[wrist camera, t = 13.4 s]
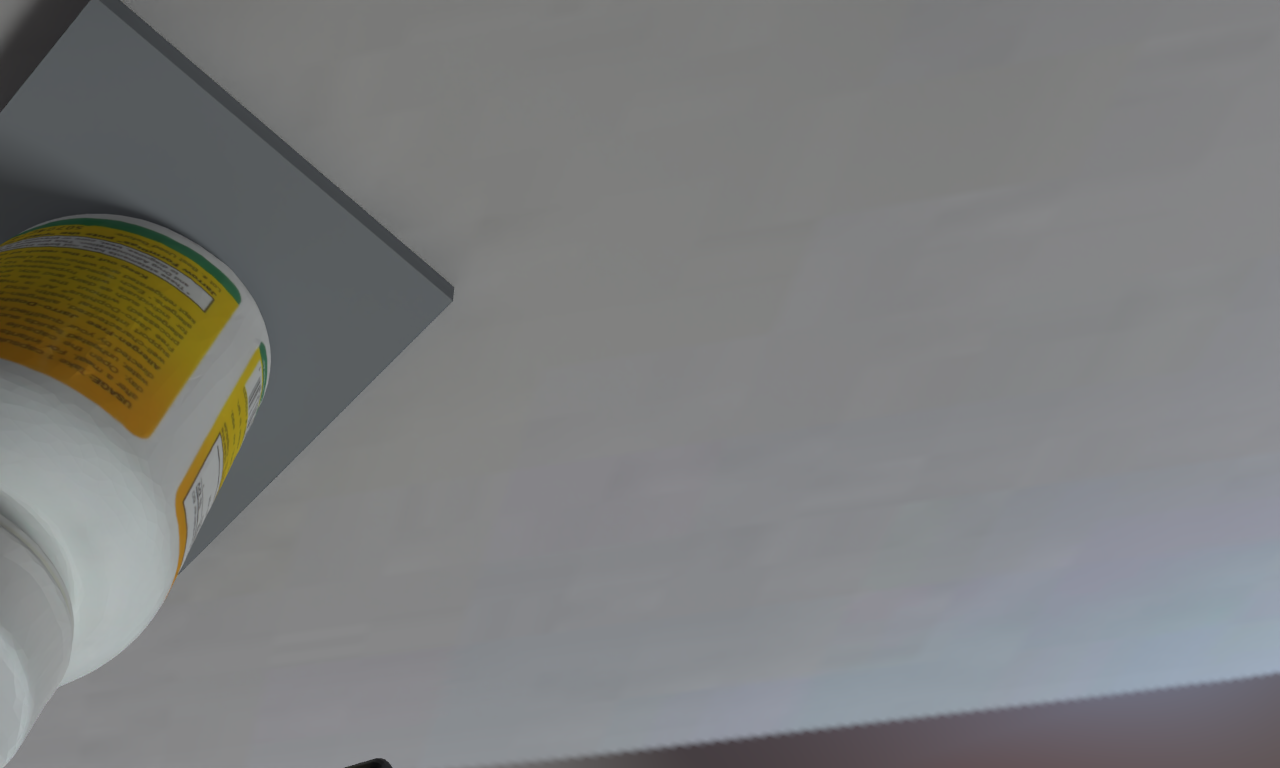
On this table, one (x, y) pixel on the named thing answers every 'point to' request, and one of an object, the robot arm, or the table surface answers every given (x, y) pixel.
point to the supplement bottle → (108, 437)
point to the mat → (218, 222)
